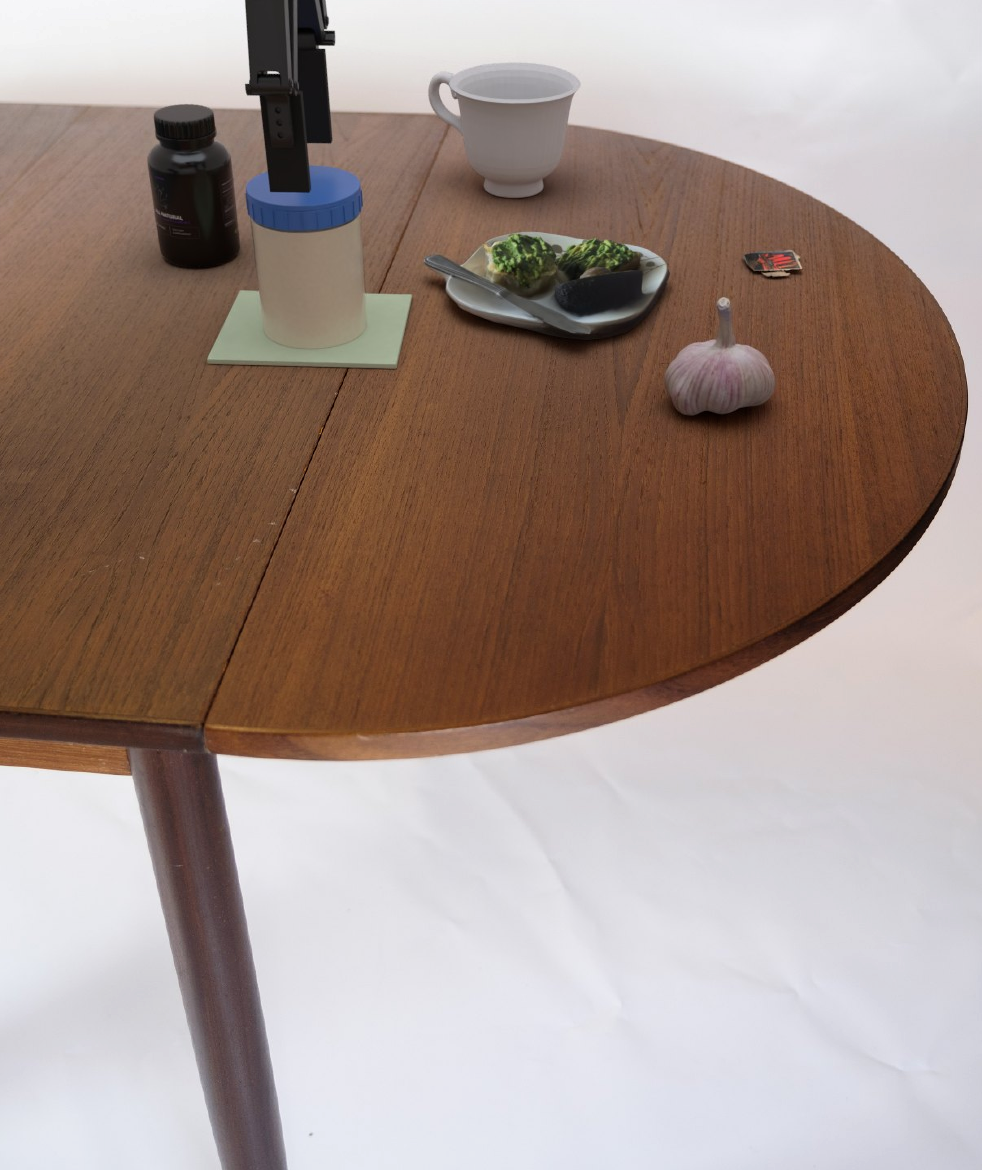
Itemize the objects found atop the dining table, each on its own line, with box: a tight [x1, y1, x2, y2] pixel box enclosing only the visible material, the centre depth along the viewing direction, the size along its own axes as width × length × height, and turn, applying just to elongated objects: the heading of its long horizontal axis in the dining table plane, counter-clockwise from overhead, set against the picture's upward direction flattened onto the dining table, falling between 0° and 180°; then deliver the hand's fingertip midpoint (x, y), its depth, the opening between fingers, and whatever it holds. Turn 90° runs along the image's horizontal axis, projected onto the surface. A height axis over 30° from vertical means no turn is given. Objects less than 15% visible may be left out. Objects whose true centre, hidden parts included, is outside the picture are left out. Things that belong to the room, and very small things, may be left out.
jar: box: [249, 211, 367, 349], centre depth 95 cm, size 8×8×10 cm
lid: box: [244, 164, 364, 231], centre depth 92 cm, size 8×8×2 cm
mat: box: [206, 289, 413, 370], centre depth 99 cm, size 14×12×1 cm
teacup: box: [427, 62, 581, 199], centre depth 121 cm, size 12×15×10 cm
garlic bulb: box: [664, 296, 776, 416], centre depth 87 cm, size 8×7×8 cm
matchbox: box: [742, 249, 803, 278], centre depth 108 cm, size 5×5×1 cm
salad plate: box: [423, 231, 671, 341], centre depth 103 cm, size 19×18×5 cm
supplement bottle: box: [146, 103, 241, 269], centre depth 107 cm, size 7×7×12 cm
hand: (302, 165), depth 91 cm, fingers open, 9 cm apart
